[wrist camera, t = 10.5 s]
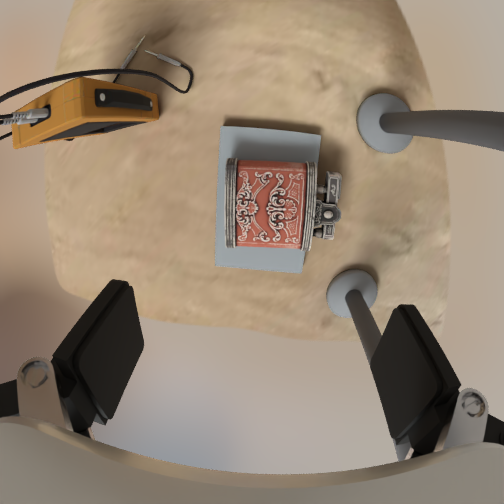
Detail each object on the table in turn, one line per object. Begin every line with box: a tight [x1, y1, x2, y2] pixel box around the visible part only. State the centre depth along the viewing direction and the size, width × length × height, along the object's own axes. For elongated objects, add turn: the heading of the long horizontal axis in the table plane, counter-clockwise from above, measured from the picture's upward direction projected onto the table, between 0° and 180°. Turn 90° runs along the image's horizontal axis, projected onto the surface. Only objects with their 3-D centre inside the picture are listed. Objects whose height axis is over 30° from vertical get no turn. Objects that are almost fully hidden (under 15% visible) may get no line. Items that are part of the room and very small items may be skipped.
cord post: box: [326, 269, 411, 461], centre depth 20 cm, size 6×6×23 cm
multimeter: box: [0, 36, 193, 149], centre depth 13 cm, size 15×10×20 cm
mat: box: [215, 126, 321, 273], centre depth 26 cm, size 14×9×1 cm, turn 176°
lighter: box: [224, 158, 342, 251], centre depth 24 cm, size 8×3×10 cm
